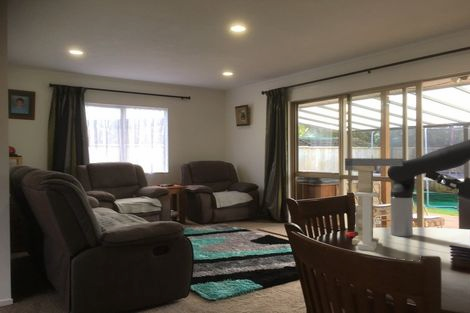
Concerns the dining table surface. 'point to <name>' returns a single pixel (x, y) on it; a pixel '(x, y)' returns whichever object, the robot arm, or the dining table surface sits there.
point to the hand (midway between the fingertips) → (427, 173)
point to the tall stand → (363, 186)
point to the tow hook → (355, 233)
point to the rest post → (366, 221)
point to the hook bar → (372, 162)
